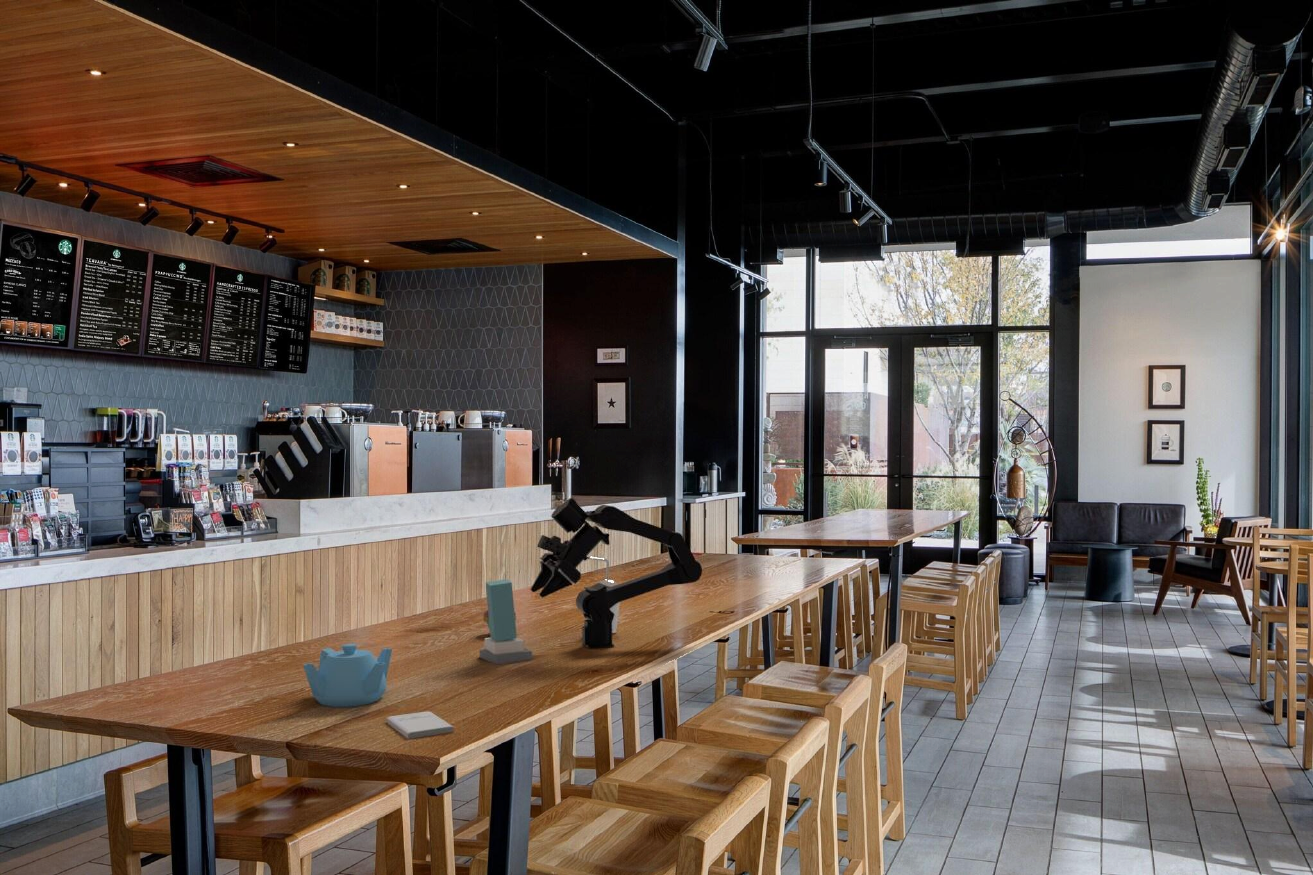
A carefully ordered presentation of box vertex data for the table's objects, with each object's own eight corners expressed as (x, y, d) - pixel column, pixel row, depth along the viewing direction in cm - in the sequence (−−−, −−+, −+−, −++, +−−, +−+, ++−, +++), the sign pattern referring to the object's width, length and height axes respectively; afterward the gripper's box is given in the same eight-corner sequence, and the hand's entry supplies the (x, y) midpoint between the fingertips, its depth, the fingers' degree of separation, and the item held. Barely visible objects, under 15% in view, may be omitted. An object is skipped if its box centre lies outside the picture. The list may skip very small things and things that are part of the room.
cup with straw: (620, 635, 274) (620, 557, 274) (586, 634, 275) (586, 557, 275) (626, 629, 282) (626, 554, 282) (593, 628, 284) (593, 553, 284)
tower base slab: (514, 655, 252) (514, 644, 252) (532, 661, 245) (532, 650, 245) (479, 660, 247) (479, 649, 247) (496, 666, 240) (496, 655, 240)
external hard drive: (407, 742, 180) (386, 725, 191) (454, 735, 184) (430, 718, 195) (407, 732, 180) (386, 716, 191) (454, 725, 184) (430, 709, 195)
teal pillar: (511, 633, 249) (506, 579, 249) (516, 638, 245) (511, 582, 244) (490, 637, 248) (485, 582, 247) (495, 641, 243) (490, 585, 242)
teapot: (396, 689, 216) (395, 636, 216) (385, 707, 201) (385, 650, 201) (318, 691, 214) (318, 638, 214) (302, 710, 199) (301, 653, 199)
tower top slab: (512, 645, 251) (512, 635, 251) (523, 651, 245) (523, 640, 245) (484, 648, 247) (484, 638, 247) (494, 654, 241) (494, 643, 241)
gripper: (548, 520, 266) (504, 566, 262) (567, 526, 248) (520, 575, 245) (579, 550, 269) (536, 596, 265) (599, 558, 251) (554, 607, 247)
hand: (536, 593), depth 255 cm, fingers open, 9 cm apart
